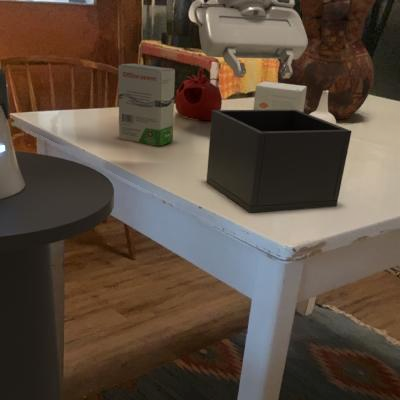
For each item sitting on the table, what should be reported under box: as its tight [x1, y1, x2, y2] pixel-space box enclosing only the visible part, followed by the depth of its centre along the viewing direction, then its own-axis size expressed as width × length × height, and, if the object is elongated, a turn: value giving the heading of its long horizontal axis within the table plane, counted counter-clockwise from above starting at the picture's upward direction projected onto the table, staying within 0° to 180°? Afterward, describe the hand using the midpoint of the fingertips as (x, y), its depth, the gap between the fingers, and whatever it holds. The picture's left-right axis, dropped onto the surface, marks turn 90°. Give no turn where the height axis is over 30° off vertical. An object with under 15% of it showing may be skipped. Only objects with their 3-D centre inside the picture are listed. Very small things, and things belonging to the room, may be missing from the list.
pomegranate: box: [174, 68, 223, 121], centre depth 124 cm, size 10×10×9 cm
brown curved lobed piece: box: [277, 0, 377, 120], centre depth 134 cm, size 22×21×25 cm
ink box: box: [117, 63, 176, 147], centre depth 104 cm, size 9×5×12 cm, turn 62°
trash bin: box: [205, 109, 353, 214], centre depth 83 cm, size 14×14×10 cm
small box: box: [252, 80, 307, 112], centre depth 105 cm, size 8×6×10 cm
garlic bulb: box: [309, 90, 337, 125], centre depth 121 cm, size 6×6×8 cm
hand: (264, 75), depth 107 cm, fingers open, 8 cm apart
